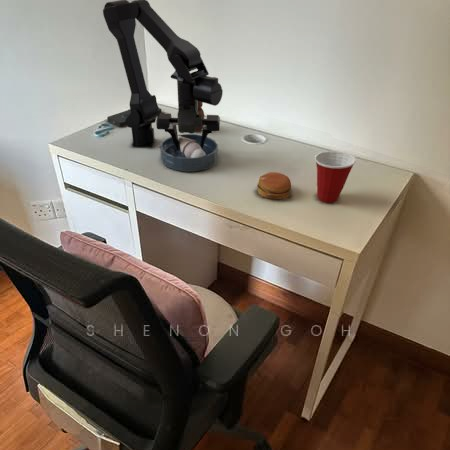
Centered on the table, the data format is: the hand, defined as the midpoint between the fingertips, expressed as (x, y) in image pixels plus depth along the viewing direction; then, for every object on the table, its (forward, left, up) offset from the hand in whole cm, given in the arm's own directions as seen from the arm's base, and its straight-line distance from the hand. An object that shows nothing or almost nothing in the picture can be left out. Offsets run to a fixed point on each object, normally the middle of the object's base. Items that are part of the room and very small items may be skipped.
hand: (189, 149), depth 131 cm
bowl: (0, 0, -3) cm, 3 cm away
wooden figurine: (0, +24, -3) cm, 24 cm away
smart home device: (-23, +33, -3) cm, 41 cm away
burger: (+25, -19, -3) cm, 32 cm away
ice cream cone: (-1, -1, -2) cm, 3 cm away
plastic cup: (+40, -21, -3) cm, 46 cm away
